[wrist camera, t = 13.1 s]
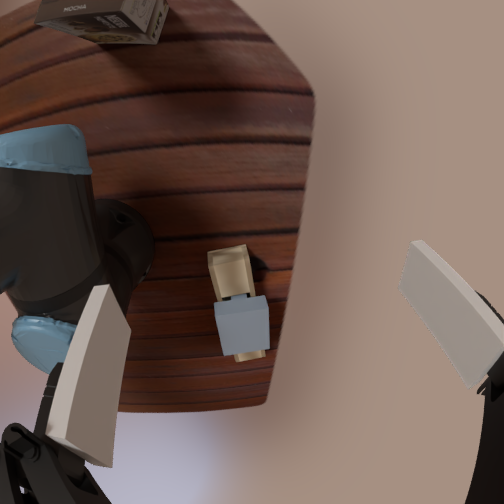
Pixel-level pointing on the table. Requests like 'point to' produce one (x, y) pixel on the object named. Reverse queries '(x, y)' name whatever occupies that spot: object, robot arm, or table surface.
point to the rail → (233, 281)
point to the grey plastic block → (243, 324)
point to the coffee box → (106, 19)
